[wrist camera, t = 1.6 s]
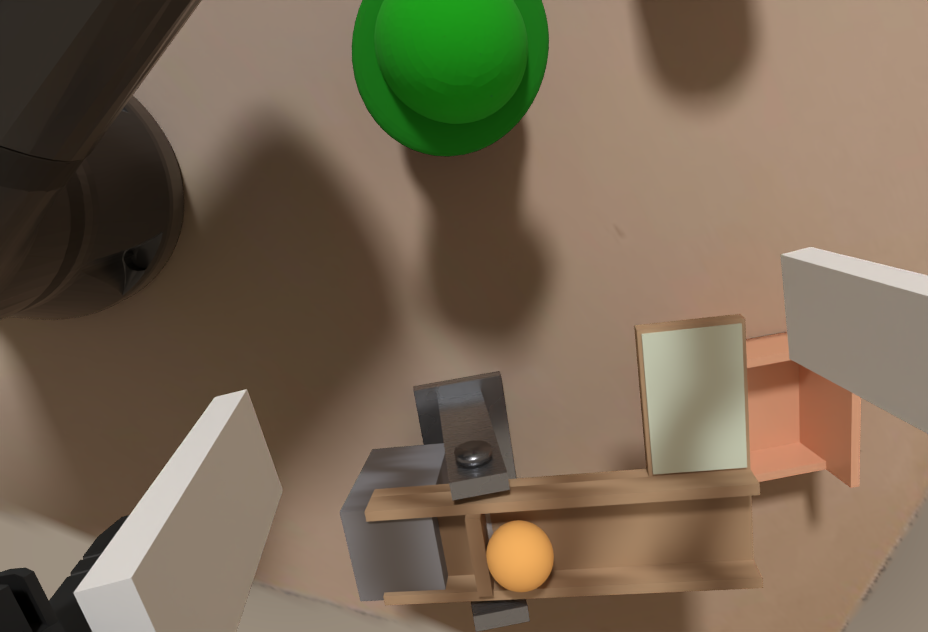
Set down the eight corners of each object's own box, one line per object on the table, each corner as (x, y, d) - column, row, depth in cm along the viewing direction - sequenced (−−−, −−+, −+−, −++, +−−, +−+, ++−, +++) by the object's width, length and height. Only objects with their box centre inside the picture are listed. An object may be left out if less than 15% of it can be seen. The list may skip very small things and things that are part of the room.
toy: (466, 181, 40) (502, 197, 25) (342, 114, 38) (305, 90, 24) (535, 47, 38) (616, -17, 24) (409, -29, 36) (412, -149, 22)
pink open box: (672, 469, 46) (710, 514, 41) (663, 354, 44) (703, 384, 38) (803, 445, 47) (859, 486, 41) (802, 329, 44) (861, 355, 39)
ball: (495, 562, 35) (487, 608, 32) (486, 508, 34) (477, 549, 31) (558, 561, 34) (556, 607, 31) (550, 505, 33) (548, 547, 30)
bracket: (439, 524, 46) (451, 650, 34) (413, 386, 43) (416, 472, 31) (519, 509, 46) (558, 629, 34) (499, 371, 43) (533, 451, 32)
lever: (390, 531, 42) (358, 616, 35) (347, 331, 38) (302, 378, 31) (723, 510, 39) (765, 598, 31) (712, 288, 35) (758, 330, 28)
